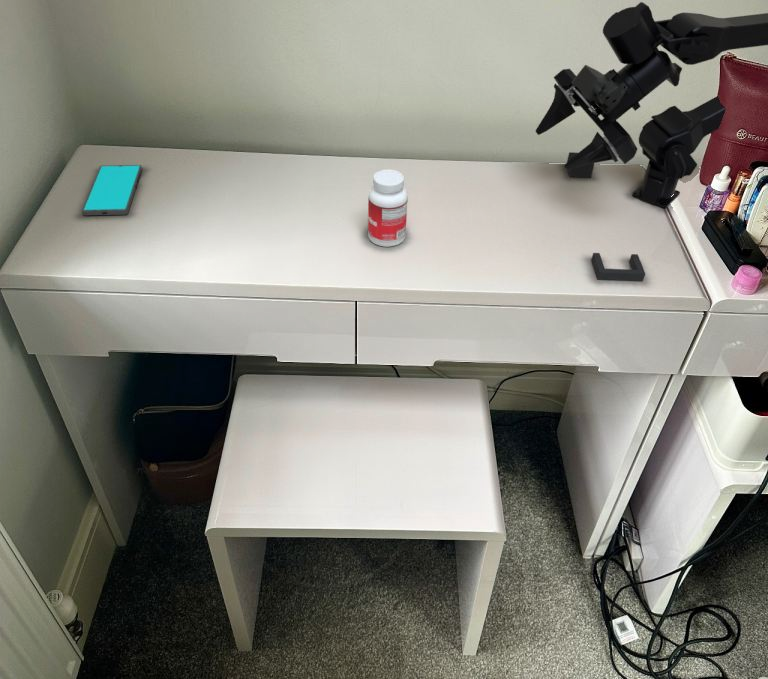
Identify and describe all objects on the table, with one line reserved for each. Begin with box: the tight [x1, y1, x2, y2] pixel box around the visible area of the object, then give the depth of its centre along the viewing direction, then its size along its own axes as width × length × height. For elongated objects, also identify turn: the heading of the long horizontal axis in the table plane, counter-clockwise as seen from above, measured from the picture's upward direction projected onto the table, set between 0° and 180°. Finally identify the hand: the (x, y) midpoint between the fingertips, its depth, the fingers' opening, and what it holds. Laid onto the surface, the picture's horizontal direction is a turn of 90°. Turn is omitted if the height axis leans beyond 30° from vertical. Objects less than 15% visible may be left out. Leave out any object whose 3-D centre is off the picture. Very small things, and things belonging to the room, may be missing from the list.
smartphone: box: [81, 164, 143, 216], centre depth 122 cm, size 7×1×15 cm
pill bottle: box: [367, 168, 409, 248], centre depth 111 cm, size 6×6×11 cm
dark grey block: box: [566, 151, 595, 179], centre depth 131 cm, size 4×4×3 cm
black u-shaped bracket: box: [590, 252, 646, 282], centre depth 109 cm, size 5×7×2 cm
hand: (550, 150), depth 115 cm, fingers open, 9 cm apart
